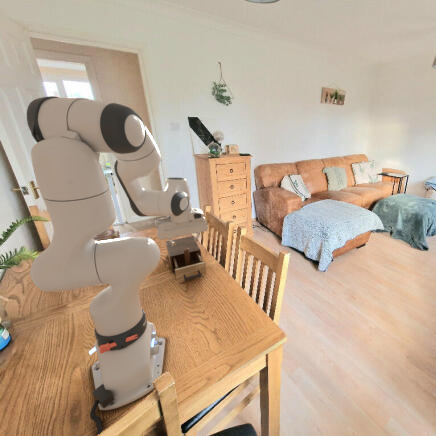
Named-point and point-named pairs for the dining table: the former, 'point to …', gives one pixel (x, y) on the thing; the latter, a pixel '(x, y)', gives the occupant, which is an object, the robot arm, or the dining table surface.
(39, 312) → the dining table surface
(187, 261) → the brown post red base
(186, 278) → the drawer
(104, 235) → the decorative jar
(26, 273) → the dining table surface
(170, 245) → the cabinet
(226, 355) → the dining table surface
